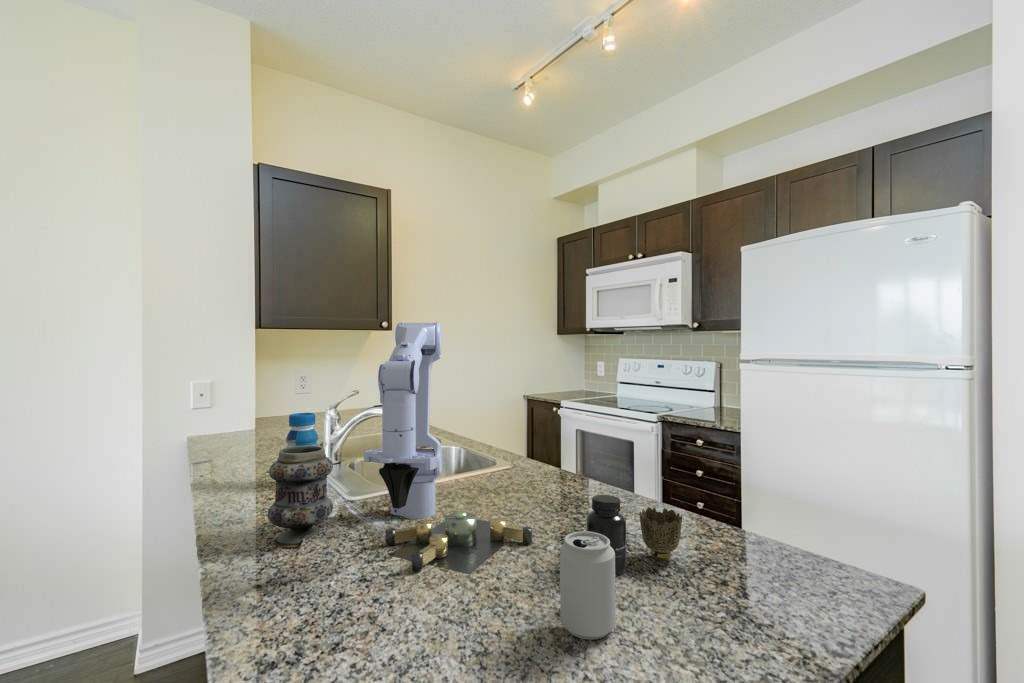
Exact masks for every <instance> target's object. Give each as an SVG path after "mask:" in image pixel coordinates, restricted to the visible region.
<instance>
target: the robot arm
mask: <svg viewBox="0 0 1024 683" xmlns="http://www.w3.org/2000/svg"><path fill="white" fill-rule="evenodd" d="M394 337H395V347H394V348H393V350H392V352H391V355H390V357H389V359H388V360H385V361H384V363H381V364H380V365H379V367H378V371H377V372H378V373H377V382H378V383H377V384H378V392H379V402H380V404H381V406H382V415H381V416H382V419H381V420H382V425H381V428H382V429H381V430H382V434H381V436H382V440H381V441H382V442H381V444H382V445H381V446H382V449H368V450H365V451H363V462H364V463H367V464H368V463H370V462H371V463H378V464H383V466H382V467H379V469H378V473H379V475H380V477H381V478H382V480H383V482H384V483H385V486H386V489H387V493H388V495H389V498H390V502H391V503H390V507H391V508H390V509H391V510H390V511H391V512H390V513H391V514H390V515H395V516H401V517H403V518H406V519H410V520H424V519H427V518H431V517H433V516H434V515H435V514H436V479H437V478H438V477H439V476H440V475H441V474H442V467H443V465H442V463H443V456H442V455H443V454H442V453H443V452H442V445H441V444H442V443H441V442H440V441H439V439H437V438H436V437H435V436H434V435H432V434H430V422H431V421H430V419H431V418H430V414H431V377H432V376H431V374H432V369H433V365H434V362H436V361H438V360H440V359H441V355H442V343H443V342H442V339H443V335H442V325H441V324H440V322H439V321H435V322H403V321H399V322H398V323H397V324H396V326H395V334H394ZM416 447H422V448H416ZM423 447H431V448H423Z"/></svg>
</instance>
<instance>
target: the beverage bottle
mask: <svg viewBox="0 0 1024 683" xmlns="http://www.w3.org/2000/svg"><path fill="white" fill-rule="evenodd" d="M315 425H316V414H315V413H313V412H297V413H291V414H289V416H288V426H289V428H290V430H289V431H288V433H287V436H286V439H285V441H286V444H287V445H286V447H285V448H288V447H293V446H305V445H312V446H319V443H318V439H319V435H318V433H317V431H316V429H315V428H314V426H315Z"/></svg>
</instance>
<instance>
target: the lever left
mask: <svg viewBox="0 0 1024 683" xmlns="http://www.w3.org/2000/svg"><path fill="white" fill-rule="evenodd" d="M432 528H433V522H432V520H429V519H420V520H418V521H416V522H415V523H414V526H412V527H411V526H410V527H403V528H397V529H396V528H393V527H392V528H390V527H389V528H387V529H385V545H387V546H392V545H394V544H396V543H401V542H411V541H412V540H416V541H417V542H428V541H430V536H432Z"/></svg>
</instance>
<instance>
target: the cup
mask: <svg viewBox="0 0 1024 683" xmlns="http://www.w3.org/2000/svg"><path fill="white" fill-rule="evenodd" d="M638 514H639V522H640V530H641V536H642V540H643V542H644V544H645V546H646V547H647V548H648V549H649V550H650V551H649V552H650V556H651V557H652V559H654V560H655V561H659V562H666V561H669V560H671V558H672V552H673V551H675V550H676V549H677V547H678V546H679V545H680V544H679V543H680V539H681V533H682V532H681V531H682V523H683V515H682V514H680V513H679V512H677V513H676V512H675V510H674V509H670V510H668V509H667V508H666V507H665V508H663V510H662V512H661V511H657V509H656V507H653V508H652V507H647V508H646V509H644V508H642V510H640V511H639V513H638Z"/></svg>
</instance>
